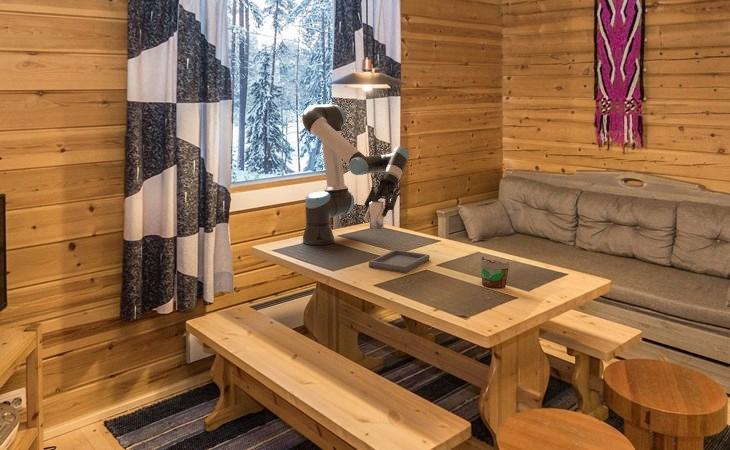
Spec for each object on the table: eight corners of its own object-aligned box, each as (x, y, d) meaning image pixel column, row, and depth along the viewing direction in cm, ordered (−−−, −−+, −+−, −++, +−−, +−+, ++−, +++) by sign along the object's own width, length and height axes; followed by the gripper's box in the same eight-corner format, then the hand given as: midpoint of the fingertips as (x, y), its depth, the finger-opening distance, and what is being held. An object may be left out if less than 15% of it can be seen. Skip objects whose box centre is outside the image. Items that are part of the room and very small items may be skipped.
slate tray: (368, 266, 261) (368, 261, 261) (394, 254, 280) (394, 249, 279) (405, 273, 253) (405, 267, 252) (429, 260, 271) (429, 254, 270)
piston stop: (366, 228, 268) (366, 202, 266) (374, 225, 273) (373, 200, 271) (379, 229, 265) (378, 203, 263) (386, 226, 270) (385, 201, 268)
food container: (471, 284, 239) (472, 259, 236) (481, 281, 243) (482, 255, 241) (499, 292, 230) (500, 265, 228) (508, 288, 234) (510, 262, 232)
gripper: (413, 184, 273) (395, 228, 263) (375, 181, 283) (356, 224, 273) (407, 173, 268) (388, 218, 258) (369, 171, 278) (349, 214, 268)
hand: (372, 221), depth 265 cm, fingers closed on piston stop, 6 cm apart
